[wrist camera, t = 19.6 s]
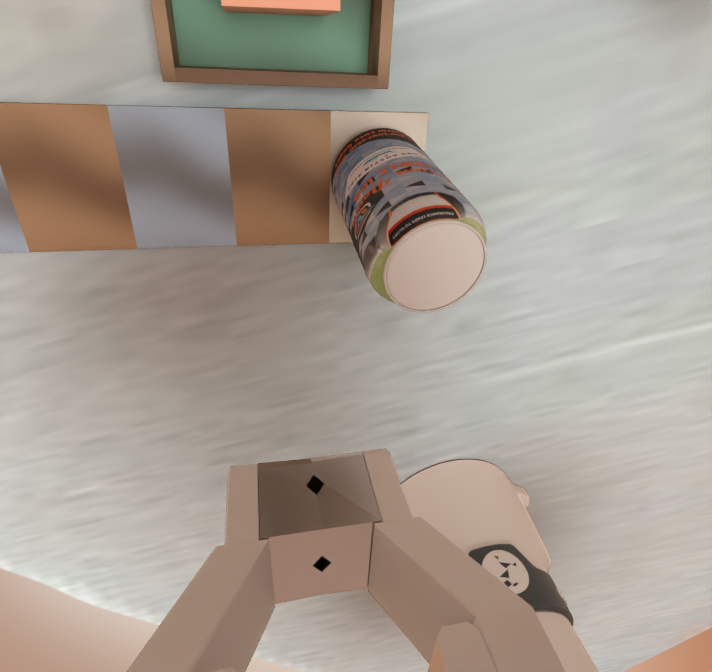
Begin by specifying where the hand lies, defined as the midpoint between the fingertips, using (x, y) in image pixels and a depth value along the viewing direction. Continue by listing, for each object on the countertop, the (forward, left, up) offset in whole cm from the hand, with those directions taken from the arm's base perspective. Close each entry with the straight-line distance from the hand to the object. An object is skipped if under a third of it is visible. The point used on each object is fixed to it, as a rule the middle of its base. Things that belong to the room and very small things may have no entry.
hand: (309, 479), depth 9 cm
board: (0, +5, -24) cm, 24 cm away
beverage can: (0, -7, -24) cm, 25 cm away
